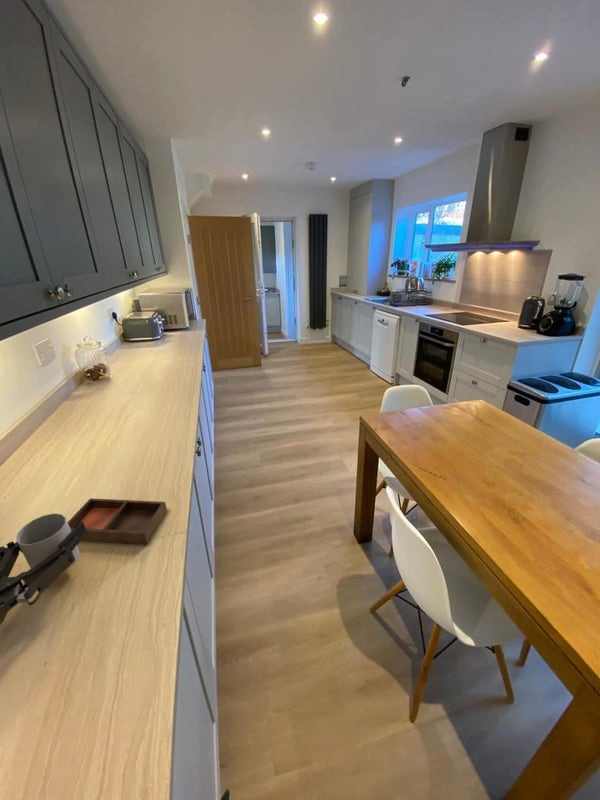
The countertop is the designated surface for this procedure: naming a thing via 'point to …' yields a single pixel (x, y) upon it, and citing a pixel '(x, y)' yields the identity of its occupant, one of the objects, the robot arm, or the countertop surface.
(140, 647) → the countertop surface
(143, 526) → the tray
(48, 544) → the cup
